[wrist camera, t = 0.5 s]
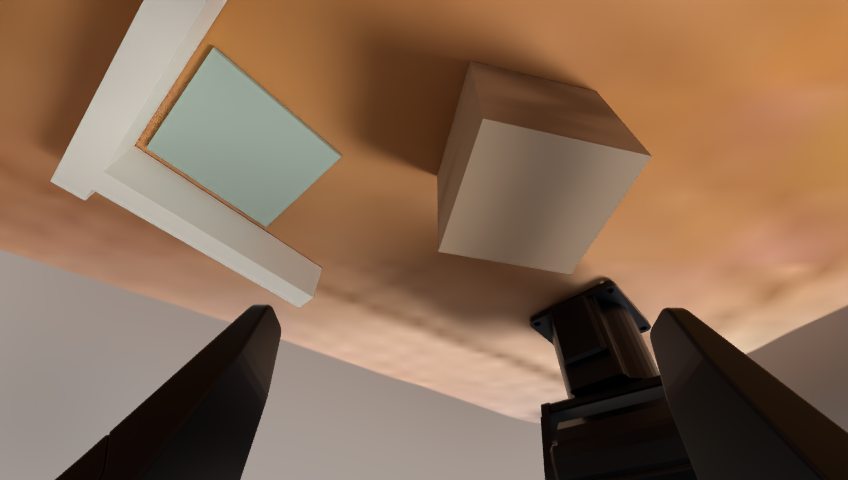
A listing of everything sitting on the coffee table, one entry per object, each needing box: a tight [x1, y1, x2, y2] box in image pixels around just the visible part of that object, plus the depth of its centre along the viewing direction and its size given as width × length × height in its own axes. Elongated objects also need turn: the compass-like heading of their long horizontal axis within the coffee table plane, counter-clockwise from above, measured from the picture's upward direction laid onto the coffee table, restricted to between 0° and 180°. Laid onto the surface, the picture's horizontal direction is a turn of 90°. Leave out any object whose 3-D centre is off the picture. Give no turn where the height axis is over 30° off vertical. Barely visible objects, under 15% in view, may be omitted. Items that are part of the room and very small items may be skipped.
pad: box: [146, 47, 342, 227], centre depth 20 cm, size 7×7×1 cm
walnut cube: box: [437, 61, 652, 275], centre depth 17 cm, size 6×6×6 cm
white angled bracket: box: [50, 0, 322, 308], centre depth 19 cm, size 14×14×2 cm
